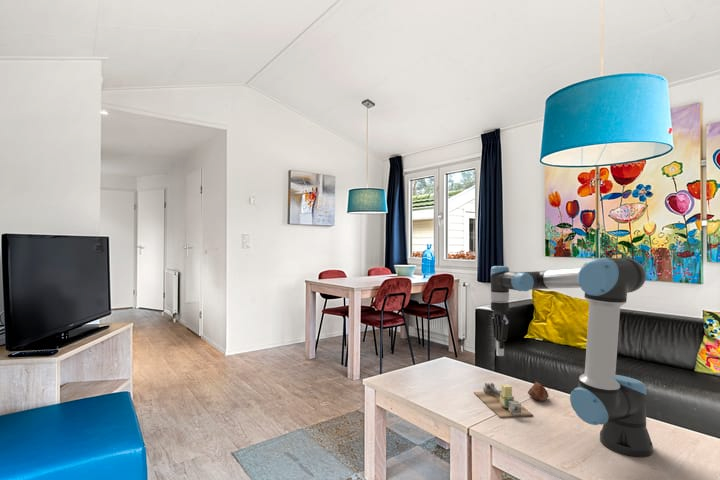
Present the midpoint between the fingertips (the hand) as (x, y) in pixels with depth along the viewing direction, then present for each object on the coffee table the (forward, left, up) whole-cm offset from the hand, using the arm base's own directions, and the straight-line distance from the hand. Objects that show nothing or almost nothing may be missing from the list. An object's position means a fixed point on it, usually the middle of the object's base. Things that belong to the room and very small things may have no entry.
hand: (500, 355), depth 172 cm
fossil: (+2, -19, -21) cm, 28 cm away
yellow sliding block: (-7, 0, -19) cm, 20 cm away
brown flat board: (-2, 0, -20) cm, 20 cm away
